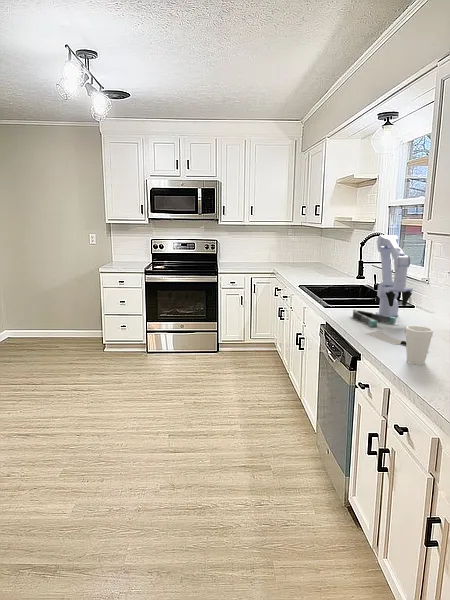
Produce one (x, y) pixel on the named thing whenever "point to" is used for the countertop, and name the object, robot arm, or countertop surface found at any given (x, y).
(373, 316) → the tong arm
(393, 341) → the kitchen cleaver
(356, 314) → the tongs fixed arm
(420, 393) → the countertop surface
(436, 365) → the countertop surface
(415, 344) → the foam cup
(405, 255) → the robot arm
